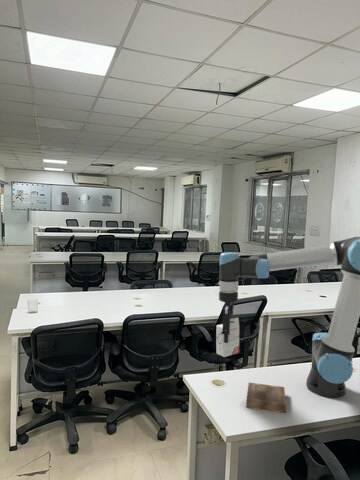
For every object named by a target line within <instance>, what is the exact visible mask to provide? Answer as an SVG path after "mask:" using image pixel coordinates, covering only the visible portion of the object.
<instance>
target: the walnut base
mask: <svg viewBox="0 0 360 480" xmlns="http://www.w3.org/2000/svg"><path fill="white" fill-rule="evenodd" d="M245 406H246V408H250V409H256V410H257V409H258V410H263V411H270V412H277V413H283V414H286V411H287V409H286V408H287V401H286V392H285V386H281V385H270V384H263V383H256V382H248V386H247V395H246V405H245Z"/></svg>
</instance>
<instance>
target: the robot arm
mask: <svg viewBox="0 0 360 480" xmlns="http://www.w3.org/2000/svg"><path fill="white" fill-rule="evenodd" d="M330 264H332V265H334V266H341V267H340V271H341V273H342V274H343V277H342V282H341V285H340V288H339V292H338V296H337V299H336V302H335V303H336V304H335V305H334V311H333V312H332V317H331V321H330V325H329V328H328V332H315V333H313V334H312V339H311V340H312V347H311V348H312V349H311V367H310V370H309V374H308V375H307V378H306V388H307V389H308V390H309V391H310V392H312V393H314V394H316V395H318V396H322V397H326V398H342V397H343V396H345V395H346V390H347V387H346V383H345V382H347V381H349V380H350V378H351V377H352V375H353V371H354V370H353V368H354V367H353V364H352V363H353V358H354V355H355V350H356V349H355V347H354V346H353V341H354V337H355V333H356V330H357V326H358V324H359V319H360V236H355V237H350V238H346V239H342V240H337V241H332V242H330V244H327V245H320V246H313V247H307V248H306V247H305V248H299V249H292V250H286V251H284V250H283V251H279V252H272V253H271V252H270V253H263V254H262V253H261V254H252V255H250V256H249V257H248V258H247V257H245V258H243V257H240V255H239V253H238V252H229V251H228V252H222V253H220V255H219V271H218V272H219V277H218V278H219V280H218V281H219V282H217V285H219V287H218V288H219V289H218V290H219V291H218V300H219V301H220V302H222V303H224V304H223V305H222V324H223V329H222V332H221V334H223V350H226V351H230V319H233V318H234V305H235V304H234V303H236V302H238V301H239V292H238V291H239V278H253V279H254V278H255V279H268V278H269V277H270V272H274V271H281V270H283V271H284V270H291V269H298V268H307V267H315V266H323V265H330ZM231 322H233V323H234V321H231Z"/></svg>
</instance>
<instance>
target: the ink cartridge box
mask: <svg viewBox="0 0 360 480" xmlns="http://www.w3.org/2000/svg"><path fill="white" fill-rule="evenodd" d="M239 319H240V318H239V317H233V319H230V351H226V350H223V334H221V332H222V329H223V323H221V324H217V325H216V328H215V329H216V330H215V331H216V334H215V335H216V336H215V337H216V340H215V342H216V354H217V355H219V356H221V357H222V358H226V357H229V356H232V355H233V356H234V355H235V354H238V353H240V320H239ZM231 321H233V322H231Z"/></svg>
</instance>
